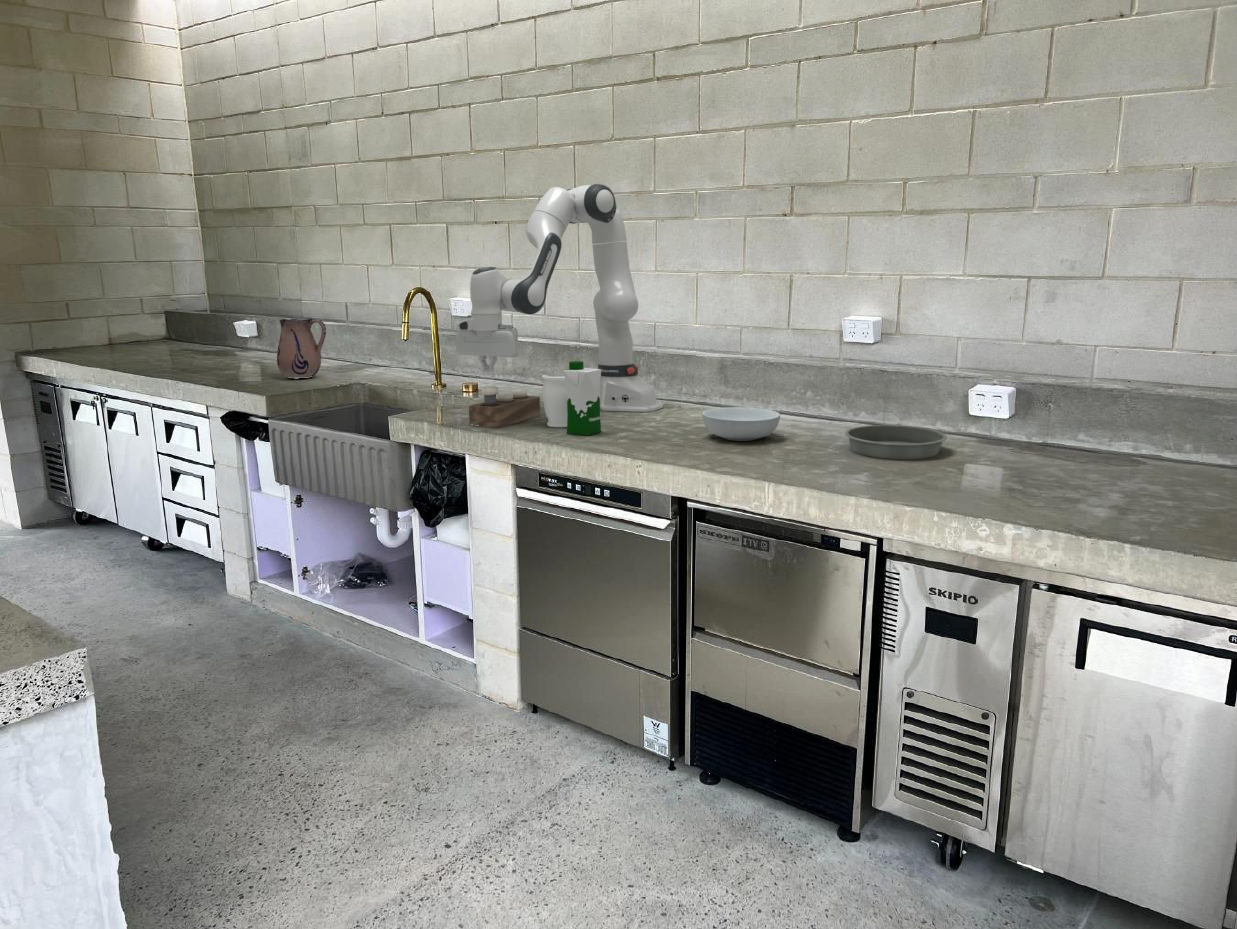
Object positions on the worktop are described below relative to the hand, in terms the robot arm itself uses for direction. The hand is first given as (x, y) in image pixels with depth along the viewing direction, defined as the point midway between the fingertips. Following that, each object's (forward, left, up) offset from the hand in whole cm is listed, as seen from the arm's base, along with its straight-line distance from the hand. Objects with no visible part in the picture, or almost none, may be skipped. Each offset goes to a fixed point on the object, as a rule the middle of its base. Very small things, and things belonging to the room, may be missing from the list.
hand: (488, 371), depth 274 cm
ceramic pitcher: (+137, -64, -16) cm, 152 cm away
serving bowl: (-75, -9, -16) cm, 77 cm away
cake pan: (-116, -8, -17) cm, 118 cm away
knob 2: (0, -16, -14) cm, 22 cm away
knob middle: (0, -8, -14) cm, 16 cm away
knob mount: (0, -8, -16) cm, 18 cm away
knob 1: (0, 0, -11) cm, 11 cm away
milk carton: (-32, +1, -16) cm, 36 cm away
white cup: (-20, -7, -16) cm, 27 cm away
